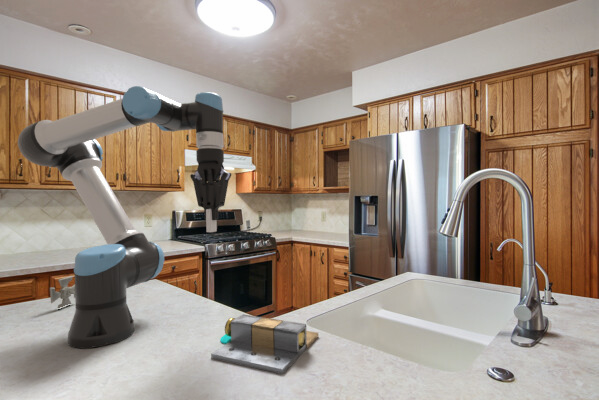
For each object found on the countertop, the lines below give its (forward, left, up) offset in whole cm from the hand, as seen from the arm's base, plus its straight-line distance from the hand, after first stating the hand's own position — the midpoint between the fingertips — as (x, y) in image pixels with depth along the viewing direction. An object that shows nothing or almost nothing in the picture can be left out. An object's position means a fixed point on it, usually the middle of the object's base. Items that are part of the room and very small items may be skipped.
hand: (211, 231), depth 97 cm
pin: (+21, -7, -25) cm, 34 cm away
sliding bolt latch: (+22, -7, -26) cm, 35 cm away
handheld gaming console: (+16, -5, -27) cm, 32 cm away
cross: (-57, -7, -27) cm, 63 cm away
